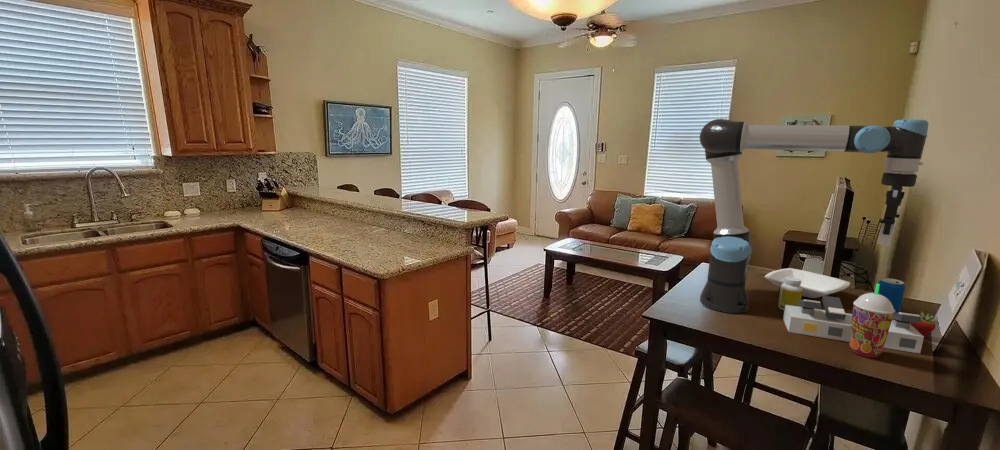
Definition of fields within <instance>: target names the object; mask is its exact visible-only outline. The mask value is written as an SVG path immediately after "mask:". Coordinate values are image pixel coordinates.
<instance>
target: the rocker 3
mask: <svg viewBox="0 0 1000 450" xmlns="http://www.w3.org/2000/svg"><path fill="white" fill-rule="evenodd" d="M920 316H921V315H920V314H917V315H916V314H914V313H907V312H901V311H900V312H899V313H895V312H894V315H893V318H892V320H898V321H905V322H909V323H910V322H913V323H921V317H920Z"/></svg>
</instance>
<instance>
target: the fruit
mask: <svg viewBox="0 0 1000 450" xmlns="http://www.w3.org/2000/svg"><path fill="white" fill-rule="evenodd" d="M916 315H918V314H916ZM919 315H920V317H921V323H913V322H909V323H910V324H911V325H912V326H913V327H914V328H915V329H916V330H917V331H918V332H919V333H920V334H921V335H923V336H924V339H925V338H927V337H928V335H930V334H931V333H932V332H933V331H934V330H935V329H936V326H937V325H936V323H935V322H937V319H933V317H934V315H933V314H932V315H930V313H927V314H926V315H925V313H924V312H923V310H922V311H920V314H919Z"/></svg>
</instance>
